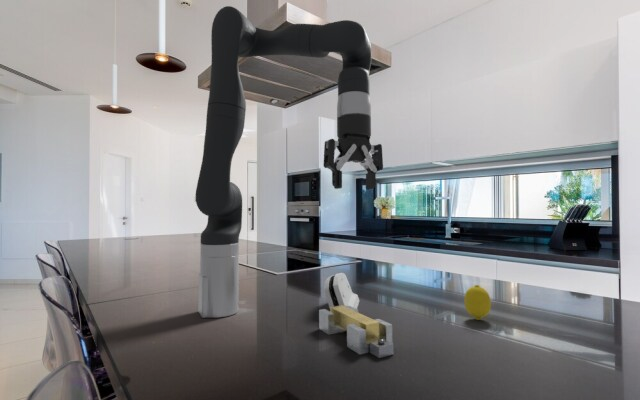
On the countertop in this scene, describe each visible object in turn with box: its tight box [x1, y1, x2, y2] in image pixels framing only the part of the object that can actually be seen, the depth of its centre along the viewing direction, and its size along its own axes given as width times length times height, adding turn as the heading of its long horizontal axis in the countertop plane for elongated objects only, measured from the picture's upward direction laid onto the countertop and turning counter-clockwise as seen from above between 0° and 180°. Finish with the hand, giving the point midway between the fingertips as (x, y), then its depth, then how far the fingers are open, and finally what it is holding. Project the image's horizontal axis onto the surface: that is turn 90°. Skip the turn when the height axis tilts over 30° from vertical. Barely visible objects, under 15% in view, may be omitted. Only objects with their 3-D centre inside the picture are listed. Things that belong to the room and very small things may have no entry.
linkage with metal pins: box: [318, 305, 394, 359], centre depth 67 cm, size 7×21×4 cm, turn 28°
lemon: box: [464, 284, 492, 321], centre depth 78 cm, size 6×6×8 cm
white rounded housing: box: [323, 272, 360, 309], centre depth 88 cm, size 17×5×10 cm, turn 169°
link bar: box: [329, 305, 379, 341], centre depth 67 cm, size 3×13×3 cm, turn 28°
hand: (354, 189), depth 75 cm, fingers open, 8 cm apart
